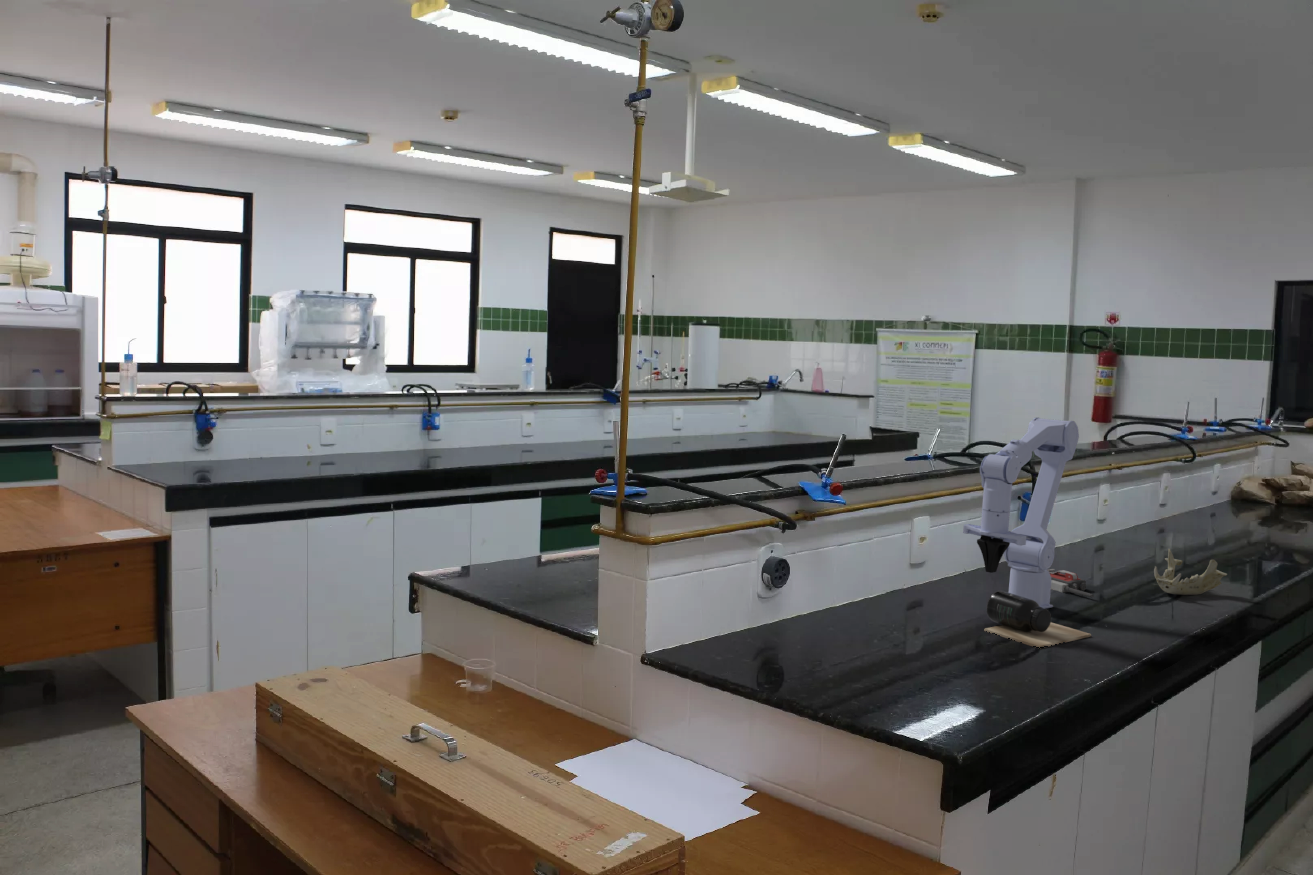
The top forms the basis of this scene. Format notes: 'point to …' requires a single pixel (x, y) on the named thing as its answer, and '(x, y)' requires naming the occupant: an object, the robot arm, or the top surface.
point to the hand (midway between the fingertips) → (990, 571)
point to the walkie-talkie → (1068, 583)
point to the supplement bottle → (1017, 612)
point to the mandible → (1191, 585)
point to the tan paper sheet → (1040, 635)
